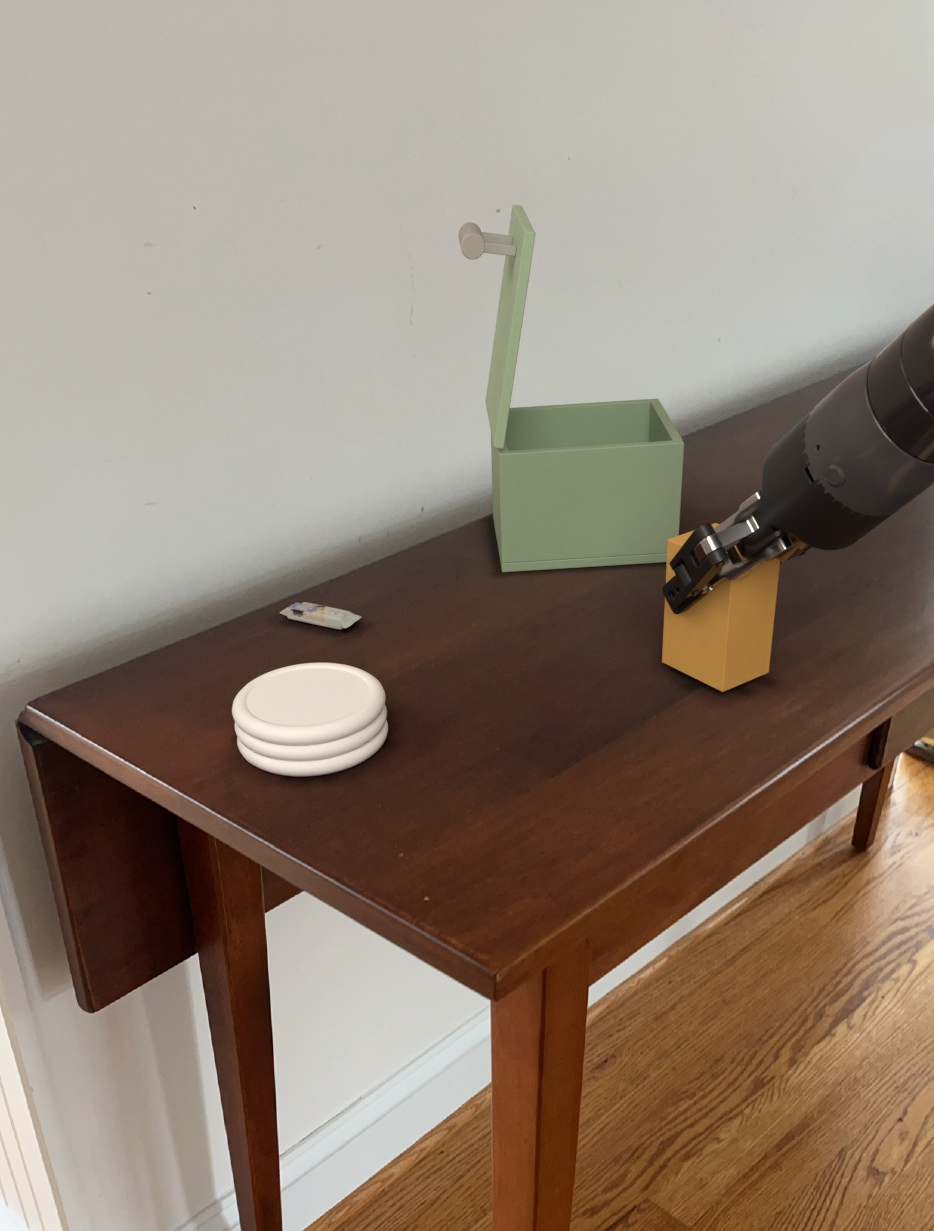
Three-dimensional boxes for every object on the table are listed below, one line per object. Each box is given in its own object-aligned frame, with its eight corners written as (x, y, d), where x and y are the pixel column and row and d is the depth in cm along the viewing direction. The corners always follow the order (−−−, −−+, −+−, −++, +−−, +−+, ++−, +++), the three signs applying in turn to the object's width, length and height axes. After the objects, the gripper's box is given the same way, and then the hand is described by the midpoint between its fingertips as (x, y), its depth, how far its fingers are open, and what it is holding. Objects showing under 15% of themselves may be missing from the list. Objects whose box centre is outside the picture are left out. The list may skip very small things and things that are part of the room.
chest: (653, 509, 115) (658, 398, 109) (677, 561, 105) (684, 442, 99) (493, 519, 115) (489, 409, 110) (502, 572, 105) (498, 454, 99)
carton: (707, 644, 91) (715, 522, 86) (769, 672, 87) (782, 546, 82) (661, 662, 89) (667, 539, 84) (722, 692, 85) (732, 564, 80)
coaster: (313, 797, 78) (306, 748, 76) (207, 750, 84) (198, 702, 82) (419, 731, 84) (416, 684, 82) (314, 691, 90) (308, 646, 88)
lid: (522, 205, 100) (459, 197, 100) (535, 232, 90) (466, 223, 90) (494, 404, 109) (436, 397, 109) (503, 449, 99) (440, 442, 99)
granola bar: (365, 612, 98) (339, 624, 96) (366, 627, 98) (340, 639, 96) (301, 591, 101) (274, 603, 99) (302, 605, 102) (276, 617, 100)
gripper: (916, 369, 74) (748, 516, 90) (741, 422, 68) (593, 570, 84) (977, 480, 74) (797, 609, 89) (805, 544, 68) (644, 671, 83)
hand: (699, 590), depth 86 cm, fingers closed on carton, 4 cm apart
